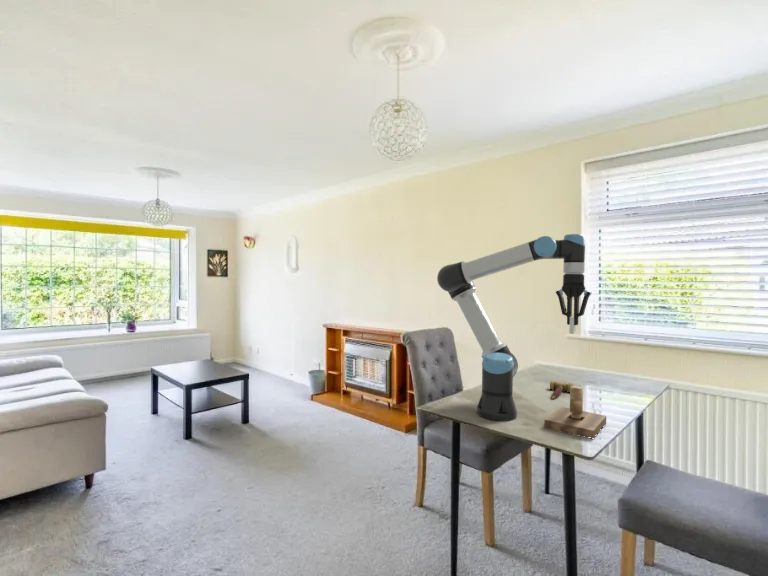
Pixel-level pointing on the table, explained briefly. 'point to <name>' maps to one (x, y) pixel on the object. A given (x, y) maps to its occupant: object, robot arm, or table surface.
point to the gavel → (559, 388)
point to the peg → (576, 402)
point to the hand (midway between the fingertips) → (572, 333)
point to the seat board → (575, 422)
